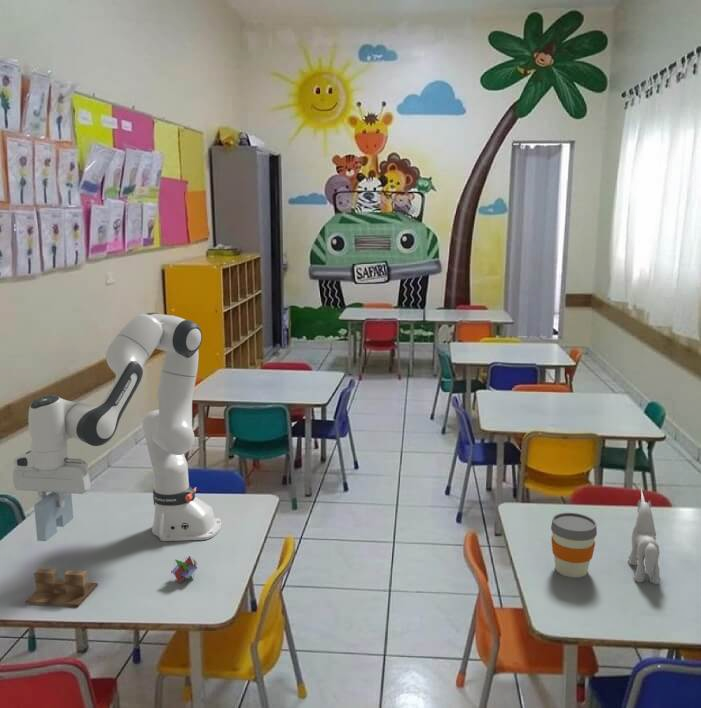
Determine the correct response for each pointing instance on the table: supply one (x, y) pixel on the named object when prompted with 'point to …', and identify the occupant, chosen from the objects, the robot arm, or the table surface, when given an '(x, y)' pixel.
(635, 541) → the unicorn
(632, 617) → the table surface
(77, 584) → the jig
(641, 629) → the table surface
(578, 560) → the reusable coffee cup
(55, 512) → the slotted plate
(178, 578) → the geometric puzzle
